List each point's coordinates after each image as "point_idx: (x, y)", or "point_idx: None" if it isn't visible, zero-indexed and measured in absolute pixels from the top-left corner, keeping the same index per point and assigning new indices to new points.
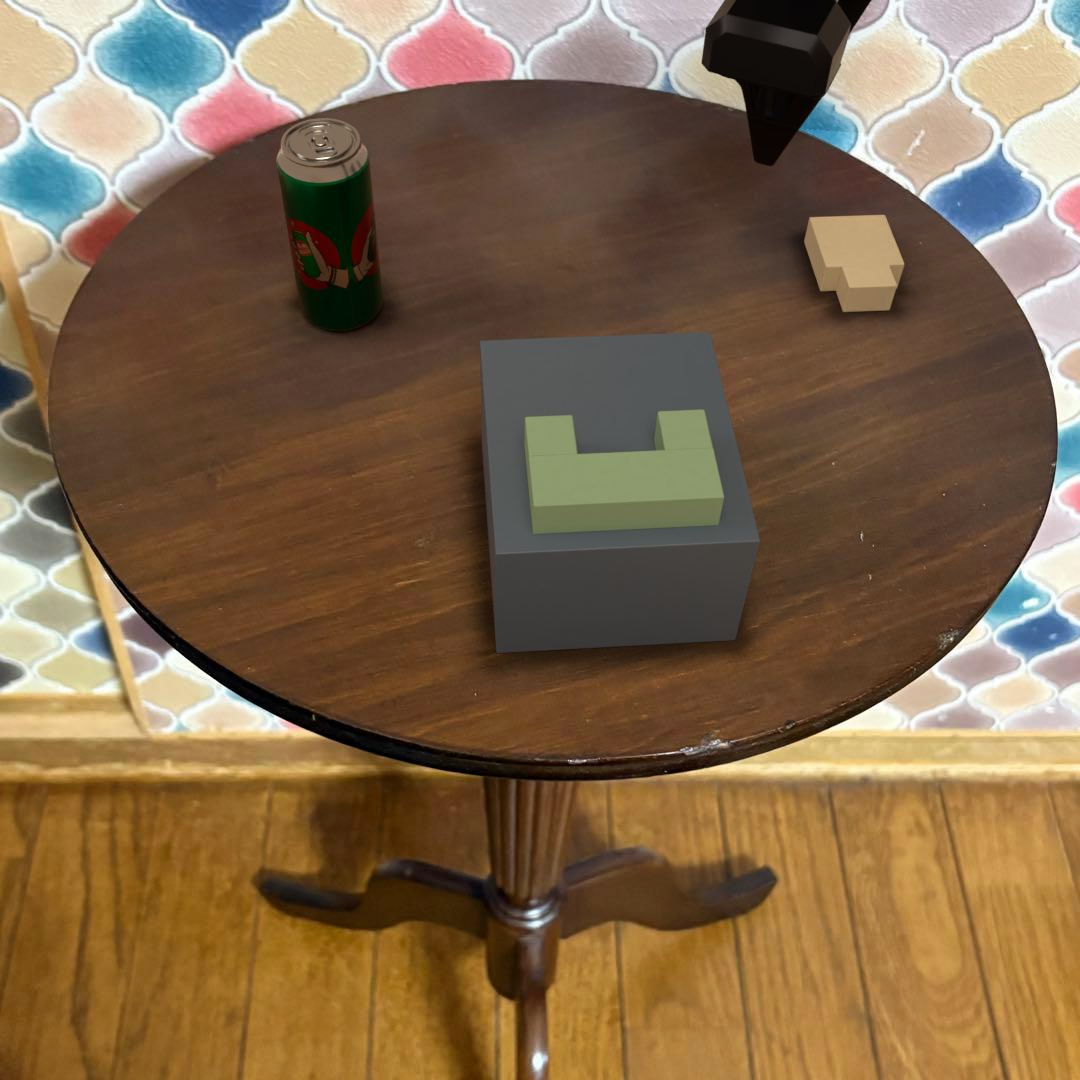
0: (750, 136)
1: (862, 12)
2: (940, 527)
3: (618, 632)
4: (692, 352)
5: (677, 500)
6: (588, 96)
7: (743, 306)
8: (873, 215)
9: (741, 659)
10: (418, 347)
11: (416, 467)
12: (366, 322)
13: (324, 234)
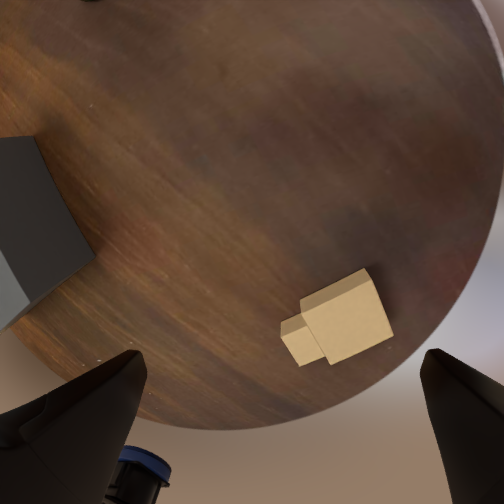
0: (88, 371)
1: (452, 500)
2: None
3: None
4: (11, 295)
5: None
6: (470, 24)
7: (249, 244)
8: (389, 328)
9: (21, 318)
10: (86, 38)
11: (13, 114)
12: (86, 1)
13: None
